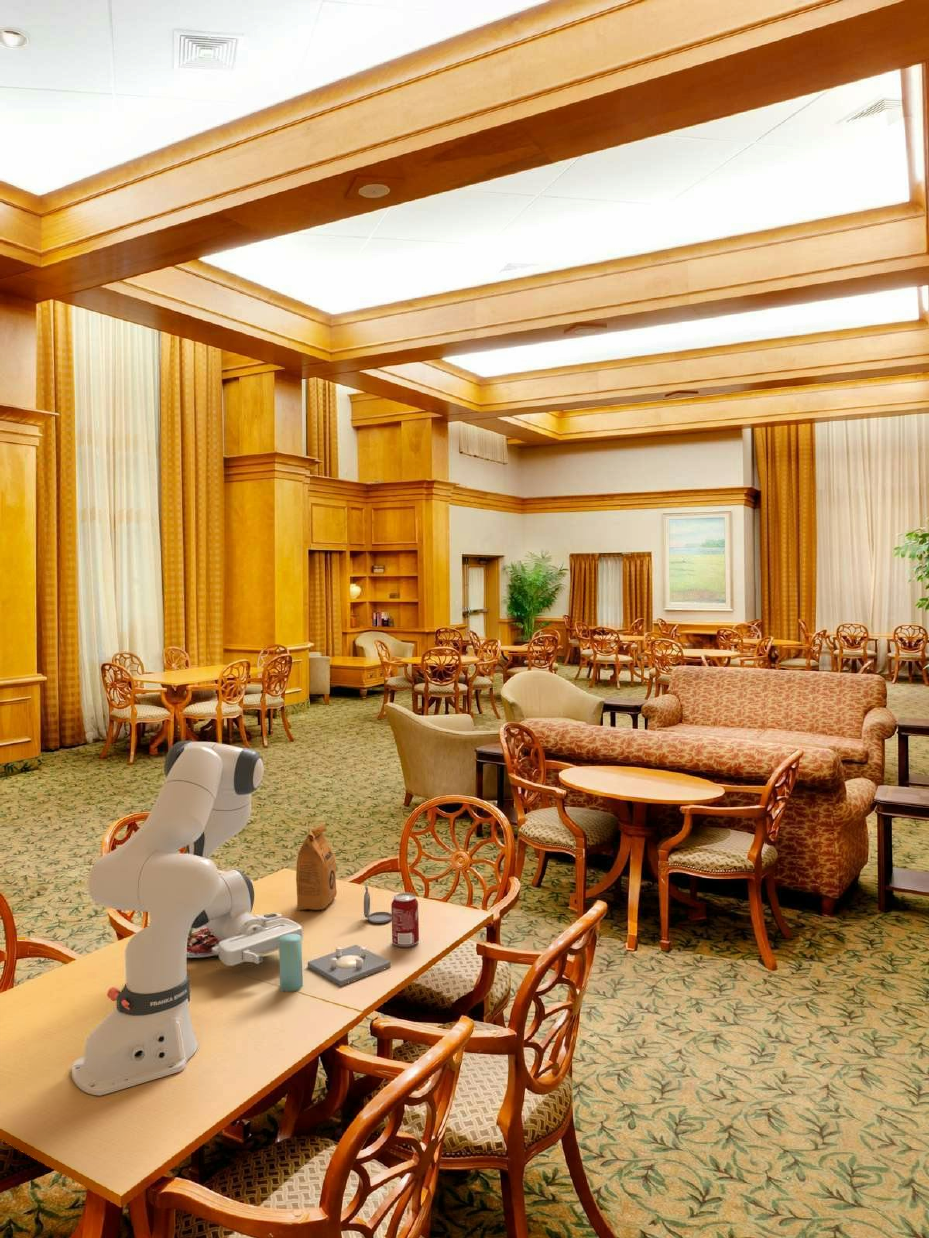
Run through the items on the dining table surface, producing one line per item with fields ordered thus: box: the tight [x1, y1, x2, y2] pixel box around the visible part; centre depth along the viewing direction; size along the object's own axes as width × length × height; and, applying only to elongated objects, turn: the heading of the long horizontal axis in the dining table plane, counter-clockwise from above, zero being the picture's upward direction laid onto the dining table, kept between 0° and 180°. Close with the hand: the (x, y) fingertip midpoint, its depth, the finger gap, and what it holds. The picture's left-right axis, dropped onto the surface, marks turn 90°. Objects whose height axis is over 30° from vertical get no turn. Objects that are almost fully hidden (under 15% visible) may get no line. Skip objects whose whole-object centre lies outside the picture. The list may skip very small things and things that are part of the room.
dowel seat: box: [307, 944, 391, 987], centre depth 199 cm, size 14×14×3 cm
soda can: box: [391, 892, 420, 948], centre depth 212 cm, size 7×7×12 cm
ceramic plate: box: [187, 924, 221, 959], centre depth 216 cm, size 26×26×3 cm
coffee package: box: [295, 824, 337, 911], centre depth 240 cm, size 10×12×22 cm
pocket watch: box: [363, 883, 392, 924], centre depth 228 cm, size 8×8×10 cm
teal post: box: [278, 934, 304, 993], centre depth 189 cm, size 5×5×11 cm
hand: (278, 952), depth 194 cm, fingers open, 8 cm apart
